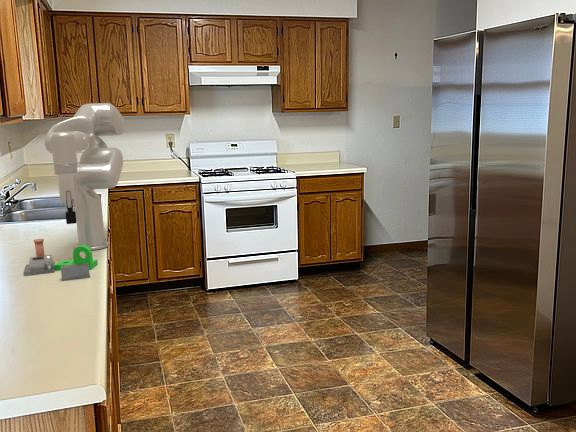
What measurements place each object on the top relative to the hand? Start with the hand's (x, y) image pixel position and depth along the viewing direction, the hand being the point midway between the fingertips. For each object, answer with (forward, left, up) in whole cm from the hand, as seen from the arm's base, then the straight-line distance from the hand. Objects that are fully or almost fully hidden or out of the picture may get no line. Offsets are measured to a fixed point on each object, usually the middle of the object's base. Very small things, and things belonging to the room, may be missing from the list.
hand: (71, 223), depth 195 cm
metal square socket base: (+8, -11, -13) cm, 19 cm away
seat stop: (+23, 0, -13) cm, 26 cm away
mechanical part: (+10, 0, -14) cm, 17 cm away
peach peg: (0, -11, -13) cm, 17 cm away
